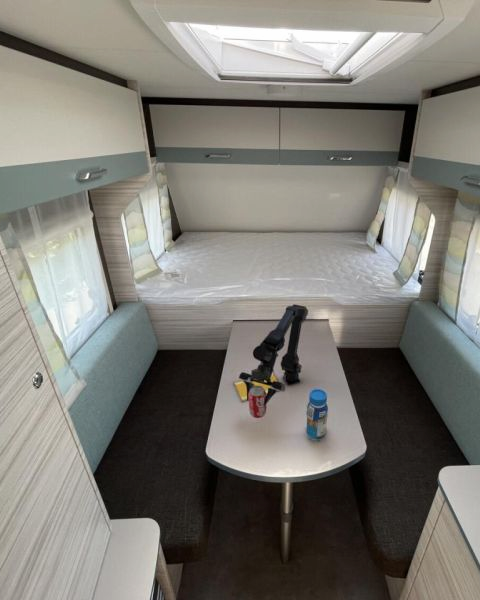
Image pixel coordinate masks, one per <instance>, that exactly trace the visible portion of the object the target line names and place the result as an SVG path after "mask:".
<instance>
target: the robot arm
mask: <svg viewBox="0 0 480 600" xmlns="http://www.w3.org/2000/svg"><path fill="white" fill-rule="evenodd" d="M308 315H309V309H308V308H307V307H306V305H300V304H296V303H295V304H292V305H288V306H286V308H285V311H284V313H283V315H282V317H281V319H280V320H279V322H278V324H277V325H276V327H275V328H274V329H272V330H271V331H269V333H268V334H267V335H266V336H265V337H264V339H263V340H262V341H261V342H260V343H259V345H257V346H255V348H253V350H252V357H253V358H254V359H255V360H257V361H258V362H260V363H259V364H258V366H257V367H256V368H254V369H252V370H251V373H247V372H244V371H241V372H240V374H239V376H238V379H239V380H241V381H243V380H244V381H243V382H245V384H246V388H247V400H246V401H247V402H249V398H248V395H249V392H250V389H251V388H252V387H253V386H254V384H253V381H254V382H257V383H261V384H265V385H268V386H271V388H268V393H267V394H266V398H265V401H264V406H265V405H266V404H267V405H268V404H269V401H270V400H271V399H272V398H273V396H275V395H276V393H279V392H280V391H281V392H285V390H286V388H287V387H286V384H287V385H288V386H291V385H294V384H297V383H300V382H301V380H300V379H299V374H300V373H301V372H302V364H300V358H299V355H298V348H299V342H300V337H301V336H300V335H301V330H302V324H304V322H305V321H306V320H307V316H308ZM289 328H290V332H289V338H288V343H287V349H286V352H285V354H284V355H283V356H282V357H281V360H280V367H281V370H282V371H284V372H283V376H282V379H283V381H284V382H285V383H286V384H285V383H283V382H280V381H278V380H277V381H278V382H277V381H273V382H271V375H272V373H274V372H275V369H274V368H275V364H276V361H277V358H278V357H279V354H278V352H280V351H281V350H282V349H283V348H284V346H285V343H286V338H285V336H286V334H287V332H288V331H289ZM264 380H266V381H267V382H264ZM278 390H280V391H278Z"/></svg>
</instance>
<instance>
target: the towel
mask: <svg viewBox="0 0 480 600" xmlns="http://www.w3.org/2000/svg"><path fill="white" fill-rule="evenodd" d="M273 373H274V372H272V375H271V382H273V381H277V382H279V381H278V380H277V378H276V376H275V374H273ZM243 381H244V380H239V381H235V382H234V383H233V384H234V386H235V388H236V391H237V392H238V395H239V397H240V400H241V401H242V402H245V401H247V388H246V384H245V382H243ZM264 382H267V381H266V380H264ZM253 384H254V386H262V387H263V388H264V390H265V392H266V395H267V393H268V388H271V386H268V385H265V384H261V383H257V382H254V381H253ZM278 391H279V392H280V391H281V390H278Z"/></svg>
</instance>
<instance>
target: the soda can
mask: <svg viewBox="0 0 480 600" xmlns="http://www.w3.org/2000/svg"><path fill="white" fill-rule="evenodd" d="M266 396H267V394H266V392H265V390H264V388H263V387H262V386H253V387H252V388H251V389H250V392H249V395H248V398H249V401H248V409H249V414H250V416H251V418H254V419H260V418H263V417H265V416H266V415H267V411H268V407H267V405H268V403H267V404H266V405H265V406H264V401H265V398H266Z"/></svg>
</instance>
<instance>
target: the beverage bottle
mask: <svg viewBox="0 0 480 600" xmlns="http://www.w3.org/2000/svg"><path fill="white" fill-rule="evenodd" d="M308 401H309V402H308V403H307V405H306V429H305V434H306V436H307V437H308V438H309V439H311V440H313V441H321V440H324V439H325V438H326V435H327V425H328V424H327V423H328V417H329V406H328V404H327V401H328V393H327V392H326V391H325V390H324V389H321V388H315V389H312V390H310V392H309V395H308Z"/></svg>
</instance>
